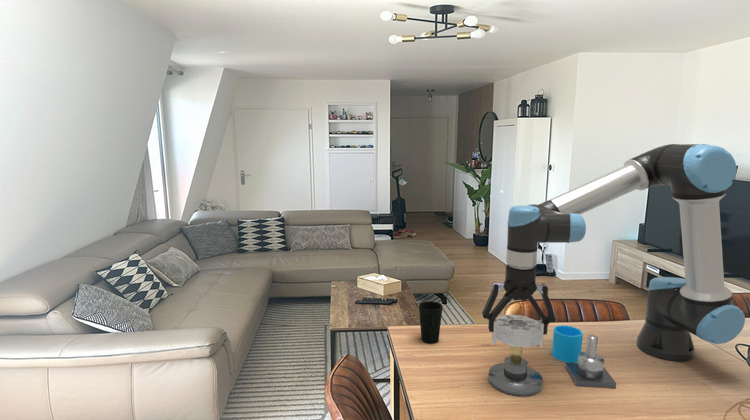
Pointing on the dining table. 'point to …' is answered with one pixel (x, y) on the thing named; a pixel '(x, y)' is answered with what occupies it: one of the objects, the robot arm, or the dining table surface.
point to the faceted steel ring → (518, 331)
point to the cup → (430, 321)
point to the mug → (567, 343)
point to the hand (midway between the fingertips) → (516, 344)
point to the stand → (590, 368)
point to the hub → (515, 376)
